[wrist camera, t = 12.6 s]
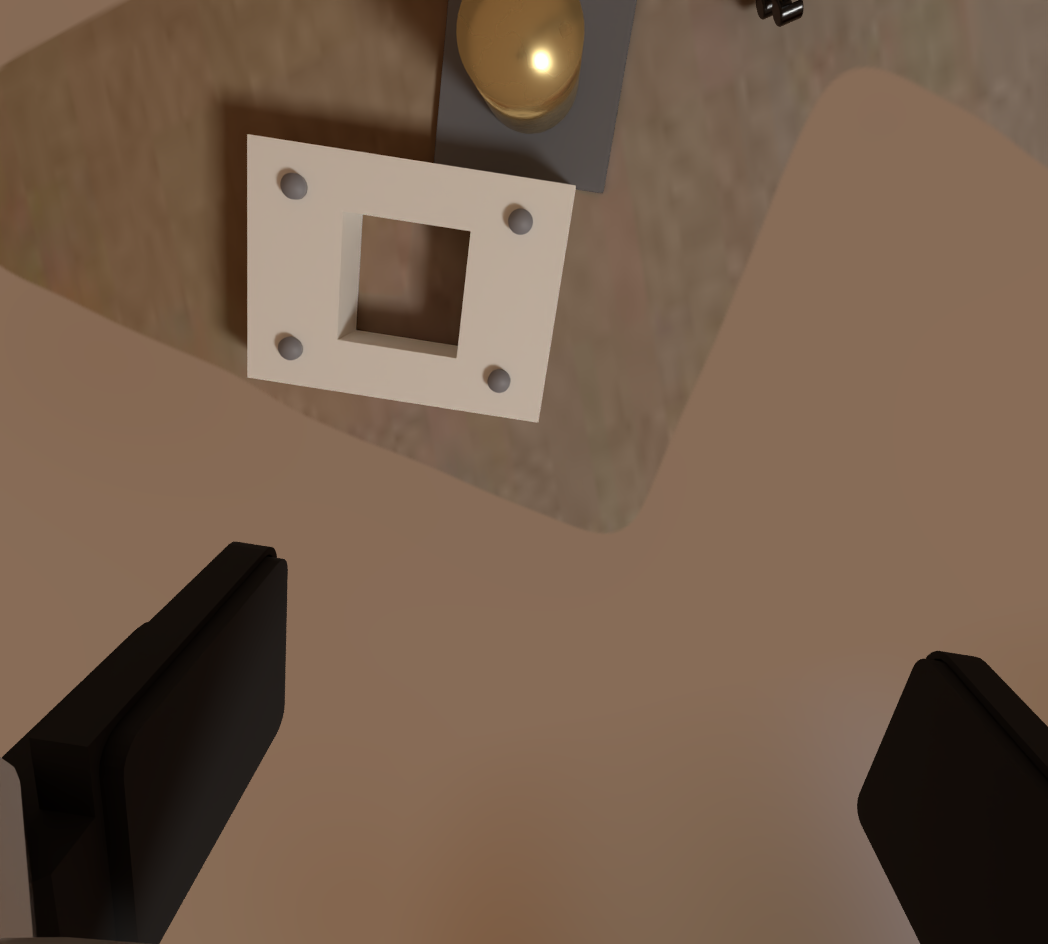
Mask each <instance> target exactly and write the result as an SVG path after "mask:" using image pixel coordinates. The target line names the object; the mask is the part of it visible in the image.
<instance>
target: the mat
mask: <svg viewBox="0 0 1048 944" xmlns="http://www.w3.org/2000/svg"><path fill="white" fill-rule="evenodd" d="M579 1H580V4H581V7H582V11H583V17H584V43H583V51H582V59H581V68H580V76H579V84H578V90H577V95H576V98H575V101H574V103H573V105H572V107H571V109H570V111H569V112H568V114H567V115H566V116H565V117H564V119H563V120H562V121H560V122H559V123H558V124H557V125H556V126H554V127H552V128H551V129H549V130H546V131H544V132H540V133H535V134H525V133H520V132H517V131H514V130H512V129H510V128H508V127H506V126H505V125H504V124H502V123H501V122H500V121H499V120H498V119H497V118H496V117H495V115H494V114H493V113H492V111H491V109H490V108H489V106H488V105H487V103H486V101H485V100H484V98H483V97H482V95H481V94H480V92H479V90H478V89H477V87H476V86H475V84H474V83H473V81H472V79H471V78H470V76H469V74H468V73H467V71H466V69H465V67H464V65H463V63H462V60H461V57H460V54H459V50H458V45H457V35H456V29H457V18H458V12H459V8H460V4H461V2H462V0H448V10H447V21H446V33H445V44H444V55H443V66H442V77H441V89H440V100H439V111H438V122H437V133H436V145H435V156H434V163H435V164H442V165H448V166H455V167H461V168H467V169H474V170H480V171H487V172H493V173H499V174H506V175H512V176H519V177H525V178H531V179H538V180H544V181H551V182H557V183H563V184H570V185H576V189H578V190H585V191H591V192H598V193H603V191H604V185H605V180H606V174H607V168H608V162H609V157H610V151H611V145H612V139H613V134H614V128H615V122H616V116H617V111H618V105H619V99H620V93H621V88H622V82H623V76H624V70H625V65H626V59H627V53H628V47H629V42H630V36H631V30H632V24H633V19H634V13H635V7H636V1H637V0H579Z"/></svg>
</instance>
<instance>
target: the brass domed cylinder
mask: <svg viewBox="0 0 1048 944" xmlns="http://www.w3.org/2000/svg"><path fill="white" fill-rule="evenodd" d="M456 35H457V45H458V50H459V54H460V57H461V60H462V63H463V65H464V67H465V69H466V71H467V73H468V74H469V76H470V78H471V79H472V81H473V83H474V84H475V86H476V87H477V89H478V90H479V92H480V94H481V95H482V97H483V98H484V100H485V101H486V103H487V105H488V106H489V108H490V109H491V111H492V113H493V114H494V115H495V117H496V118H497V119H498V120H499V121H500V122H501V123H502V124H504V125H505V126H506V127H508V128H510V129H512V130H514V131H517V132H520V133H525V134H535V133H540V132H544V131H546V130H549V129H551V128H552V127H554V126H556V125H557V124H558V123H559V122H560V121H562V120H563V119H564V117H565V116H566V115H567V114H568V112H569V111H570V109H571V107H572V105H573V103H574V101H575V98H576V95H577V90H578V84H579V76H580V68H581V59H582V51H583V43H584V17H583V11H582V7H581V4H580V1H579V0H462V2H461V4H460V8H459V12H458V18H457V29H456Z"/></svg>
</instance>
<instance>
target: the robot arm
mask: <svg viewBox="0 0 1048 944" xmlns="http://www.w3.org/2000/svg"><path fill="white" fill-rule="evenodd" d="M287 571H288V569H287V562H286V560H285V559H280V558H277V555H276V551H275V549H274V548H272V547H267V546H261V545H254V544H248V543H241V542H232V543H231V544H229V545H228V546H227V547H226V548H225V549H224V550H223V551H222V552H221V553H220V554H219V555H217V557H215V559H213V560H212V562H210V563H209V564H208V565H207V566H206V567H205V568H204V569H203V570H202V571H201V572H200V573H199V574H198V575H197V576H196V577H195V578H194V579H193V580H192V581H191V582H190V583H188V584H187V585H186V586H185V587H184V589H182V590H181V591H180V592H179V593H178V594H177V595H176V596H175V597H174V598H173V599H172V600H171V601H170V602H169V603H168V604H167V605H166V606H165V607H164V608H163V609H162V610H160V612H158V613H157V614H156V615H155V616H154V617H153V618H152V619H151V620H150V621H149V622H146V623H144V624H143V625H141V626H140V627H139V628H137V629H136V630H135V631H134V632H133V633H132V634H131V635H130V636H129V637H128V638H127V639H125V640H124V641H123V642H122V643H121V644H120V645H119V646H118V647H117V648H116V649H115V650H114V651H113V652H112V653H111V654H110V655H109V656H108V657H107V658H106V659H105V660H104V661H102V662H101V663H100V664H99V665H98V666H97V667H96V668H95V669H94V670H93V671H92V672H91V673H90V674H89V675H88V676H87V677H86V678H85V679H84V680H83V681H82V682H80V683H79V684H78V685H77V686H76V687H75V688H74V689H73V690H72V691H71V692H70V693H69V694H68V695H67V696H66V697H65V698H64V699H63V700H62V701H61V702H60V703H58V704H57V705H56V706H55V707H54V708H53V709H52V710H51V711H50V712H49V713H48V714H47V715H46V716H45V717H44V718H43V719H42V720H41V721H40V722H39V723H37V725H35V726H34V727H33V728H32V729H31V730H30V731H29V732H28V733H27V734H26V735H25V736H24V737H23V738H22V739H21V740H20V741H19V742H18V743H17V744H15V745H14V746H13V747H12V748H11V749H10V750H9V751H8V752H7V753H6V754H5V755H4V756H3V757H2V758H0V944H159V943H160V941H161V940H162V938H163V936H164V934H165V932H166V931H167V929H168V927H169V925H170V923H171V922H172V920H173V918H174V916H175V914H176V913H177V911H178V909H179V907H180V905H181V904H182V902H183V900H184V898H185V897H186V895H187V893H188V891H189V890H190V888H191V886H192V884H193V882H194V881H195V879H196V877H197V875H198V873H199V872H200V870H201V868H202V866H203V864H204V862H205V861H206V859H207V857H208V856H209V854H210V852H211V850H212V848H213V847H214V845H215V843H216V841H217V839H218V838H219V836H220V834H221V832H222V830H223V829H224V827H225V825H226V823H227V821H228V820H229V818H230V816H231V814H232V812H233V811H234V809H235V807H236V805H237V803H238V802H239V800H240V798H241V796H242V795H243V793H244V791H245V789H246V788H247V785H248V784H249V782H250V780H251V779H252V777H253V775H254V773H255V771H256V770H257V768H258V766H259V764H260V762H261V761H262V759H263V757H264V755H265V754H266V752H267V750H268V748H269V746H270V745H271V743H272V741H273V739H274V737H275V736H276V734H277V732H278V730H279V727H280V724H281V721H282V718H283V713H284V705H285V661H286V657H285V656H286V618H287V613H286V612H287V574H288V572H287ZM857 809H858V816H859V820H860V823H861V825H862V827H863V829H864V831H865V833H866V835H867V837H868V839H869V841H870V843H871V845H872V847H873V849H874V851H875V853H876V855H877V857H878V859H879V861H880V863H881V865H882V868H883V869H884V872H885V874H886V875H887V877H888V879H889V882H890V884H891V885H892V887H893V889H894V891H895V894H896V895H897V897H898V900H899V901H900V904H901V906H902V908H903V910H904V912H905V914H906V916H907V918H908V920H909V922H910V924H911V926H912V928H913V930H914V932H915V934H916V936H917V938H918V940H919V942H920V944H1048V727H1047V725H1046V724H1045V723H1044V722H1043V721H1041V719H1040V718H1039V717H1038V716H1037V715H1036V714H1035V713H1034V712H1033V711H1032V710H1031V709H1030V708H1029V707H1028V706H1027V705H1026V704H1025V703H1024V702H1023V701H1022V700H1021V699H1020V698H1019V696H1018V695H1017V694H1015V692H1014V691H1013V690H1012V689H1011V688H1010V687H1009V686H1008V685H1007V684H1006V683H1005V682H1004V681H1003V680H1002V679H1001V678H1000V677H999V676H998V675H997V674H996V673H995V672H994V670H992V669H991V667H990V666H989V665H987V663H986V662H984V661H983V660H982V659H980V658H978V657H974V656H968V655H961V654H955V653H948V652H941V651H935V652H932V653H931V654H929V655H928V656H927V657H926V659H920V660H919V661H917V662H916V663H915V665H914V667H913V669H912V671H911V674H910V676H909V678H908V681H907V683H906V686H905V688H904V690H903V692H902V695H901V697H900V699H899V702H898V704H897V707H896V709H895V711H894V714H893V716H892V718H891V721H890V723H889V725H888V728H887V730H886V732H885V735H884V737H883V739H882V742H881V744H880V746H879V749H878V751H877V754H876V756H875V758H874V761H873V763H872V766H871V768H870V770H869V772H868V775H867V777H866V779H865V782H864V784H863V786H862V789H861V791H860V794H859V797H858V803H857Z"/></svg>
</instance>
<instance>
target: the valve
mask: <svg viewBox="0 0 1048 944" xmlns="http://www.w3.org/2000/svg"><path fill="white" fill-rule="evenodd" d="M756 8H757V12H758V15H759V17H760V18H761V19H766V18H768V17H770V16H773V18H774V21H775V23H776V25H777V26H779V27H781V26H783V25H785V24H788V23H790V22H792V21H794V20H797V19H799V18H801V17H802V14H803V0H798V1H796V2H793V3H792V1H791V0H756Z"/></svg>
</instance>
